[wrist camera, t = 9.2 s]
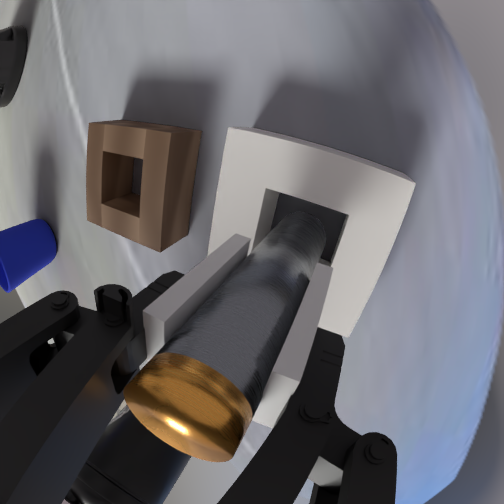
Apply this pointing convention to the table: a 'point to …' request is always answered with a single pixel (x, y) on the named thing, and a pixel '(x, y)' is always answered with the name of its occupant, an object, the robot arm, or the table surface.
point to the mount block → (153, 180)
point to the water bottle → (128, 466)
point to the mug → (25, 252)
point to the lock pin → (228, 347)
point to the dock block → (319, 192)
